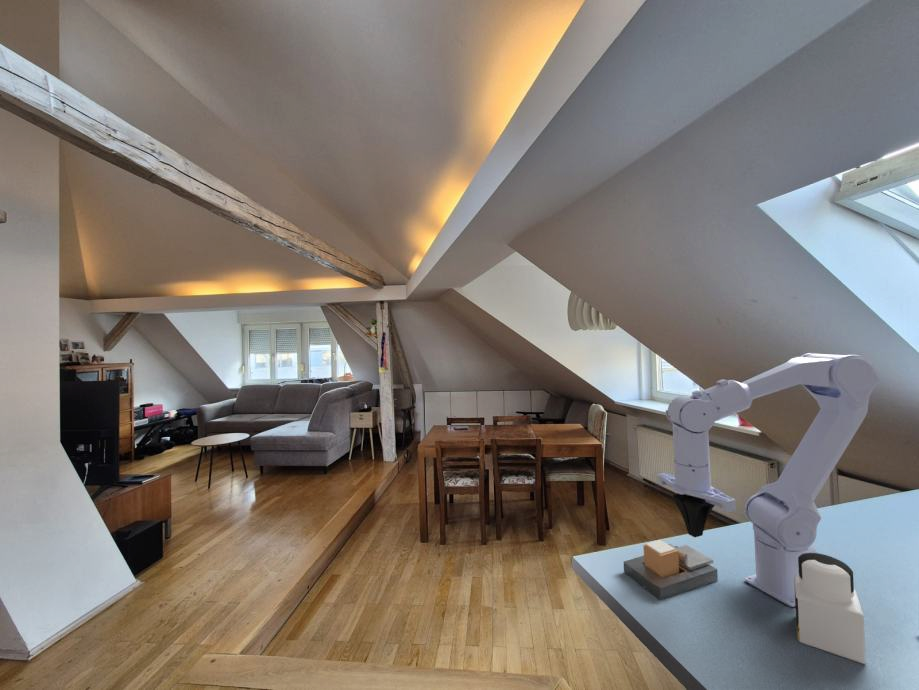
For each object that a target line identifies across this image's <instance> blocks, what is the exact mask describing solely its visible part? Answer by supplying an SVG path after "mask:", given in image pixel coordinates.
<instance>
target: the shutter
mask: <svg viewBox="0 0 919 690" xmlns="http://www.w3.org/2000/svg"><path fill="white" fill-rule="evenodd" d="M667 544H668V545H670V546H671V547H673V548H675V549H676V550H677V551H678V561H679V564H680V565H682V566H683V567H685V568H687V569H688V570H693V569H697V568H700V567H703V566H706V565H712V564H714V559H712V558H711V557H708V556H707V555H705V554H703V553H701V552H699V551H697V550H696V549H695V548H692V547H691V546H689V545H686V544H685V545H681V546H678V547H677V548H676V547H675V546H674V545H672V544H670V543H667Z"/></svg>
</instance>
